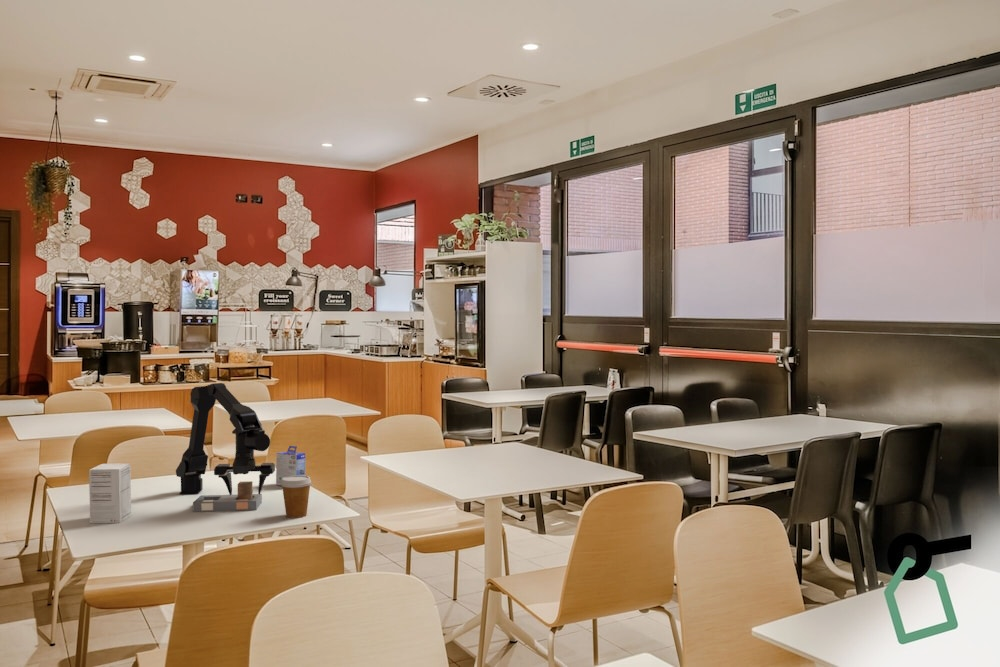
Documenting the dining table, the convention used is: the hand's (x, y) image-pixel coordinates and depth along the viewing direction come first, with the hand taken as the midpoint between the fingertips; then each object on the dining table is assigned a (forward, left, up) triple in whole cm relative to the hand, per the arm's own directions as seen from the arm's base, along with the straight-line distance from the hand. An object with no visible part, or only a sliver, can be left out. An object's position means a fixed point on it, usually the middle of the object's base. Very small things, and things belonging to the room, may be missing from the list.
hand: (245, 494), depth 269 cm
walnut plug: (0, 0, -4) cm, 4 cm away
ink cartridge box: (+11, +32, -4) cm, 34 cm away
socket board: (-5, 0, -4) cm, 7 cm away
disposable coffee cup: (+19, -14, -4) cm, 24 cm away
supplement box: (-38, -12, -4) cm, 41 cm away
